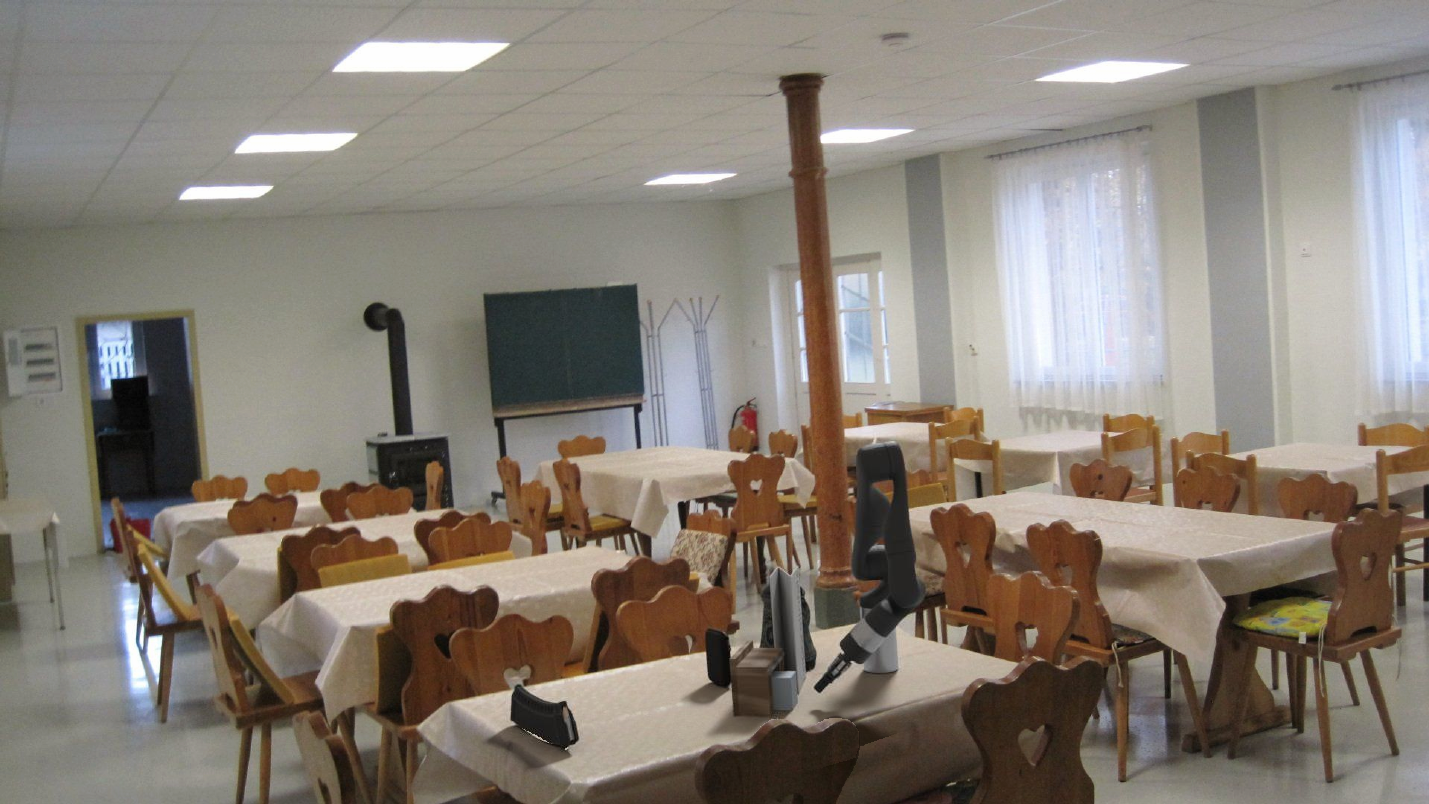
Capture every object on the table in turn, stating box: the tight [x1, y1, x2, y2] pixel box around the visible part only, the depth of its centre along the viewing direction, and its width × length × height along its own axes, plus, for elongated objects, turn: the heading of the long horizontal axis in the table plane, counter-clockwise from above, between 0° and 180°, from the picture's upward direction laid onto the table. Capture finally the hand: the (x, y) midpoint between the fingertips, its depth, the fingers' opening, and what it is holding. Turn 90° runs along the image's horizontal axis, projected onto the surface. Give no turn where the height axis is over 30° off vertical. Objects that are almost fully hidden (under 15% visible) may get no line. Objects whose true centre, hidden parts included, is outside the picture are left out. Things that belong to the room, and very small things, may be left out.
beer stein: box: [758, 583, 818, 671], centre depth 337 cm, size 16×19×25 cm
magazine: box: [509, 683, 580, 749], centre depth 290 cm, size 17×3×30 cm
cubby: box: [729, 639, 785, 718], centre depth 303 cm, size 18×10×14 cm, turn 165°
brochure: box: [769, 565, 807, 695], centre depth 318 cm, size 14×6×30 cm, turn 168°
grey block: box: [771, 671, 799, 711], centre depth 302 cm, size 6×12×8 cm, turn 75°
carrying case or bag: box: [704, 627, 732, 688], centre depth 323 cm, size 11×3×15 cm, turn 33°
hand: (816, 689), depth 299 cm, fingers closed
